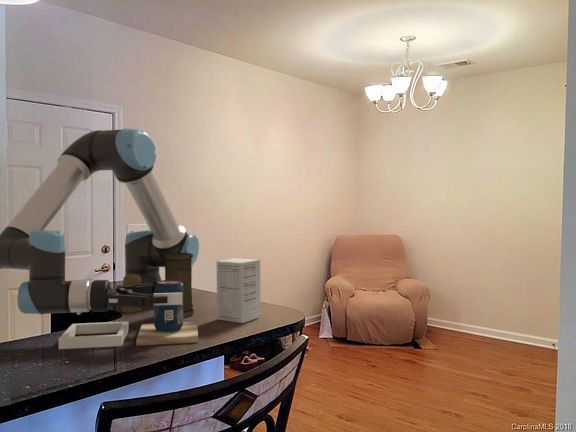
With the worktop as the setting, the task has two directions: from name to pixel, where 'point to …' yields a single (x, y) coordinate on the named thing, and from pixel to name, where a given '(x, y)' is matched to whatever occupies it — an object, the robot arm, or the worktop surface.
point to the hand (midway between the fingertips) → (182, 293)
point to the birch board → (167, 335)
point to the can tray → (72, 341)
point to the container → (181, 276)
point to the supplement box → (238, 290)
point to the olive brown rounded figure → (131, 280)
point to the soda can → (168, 308)
